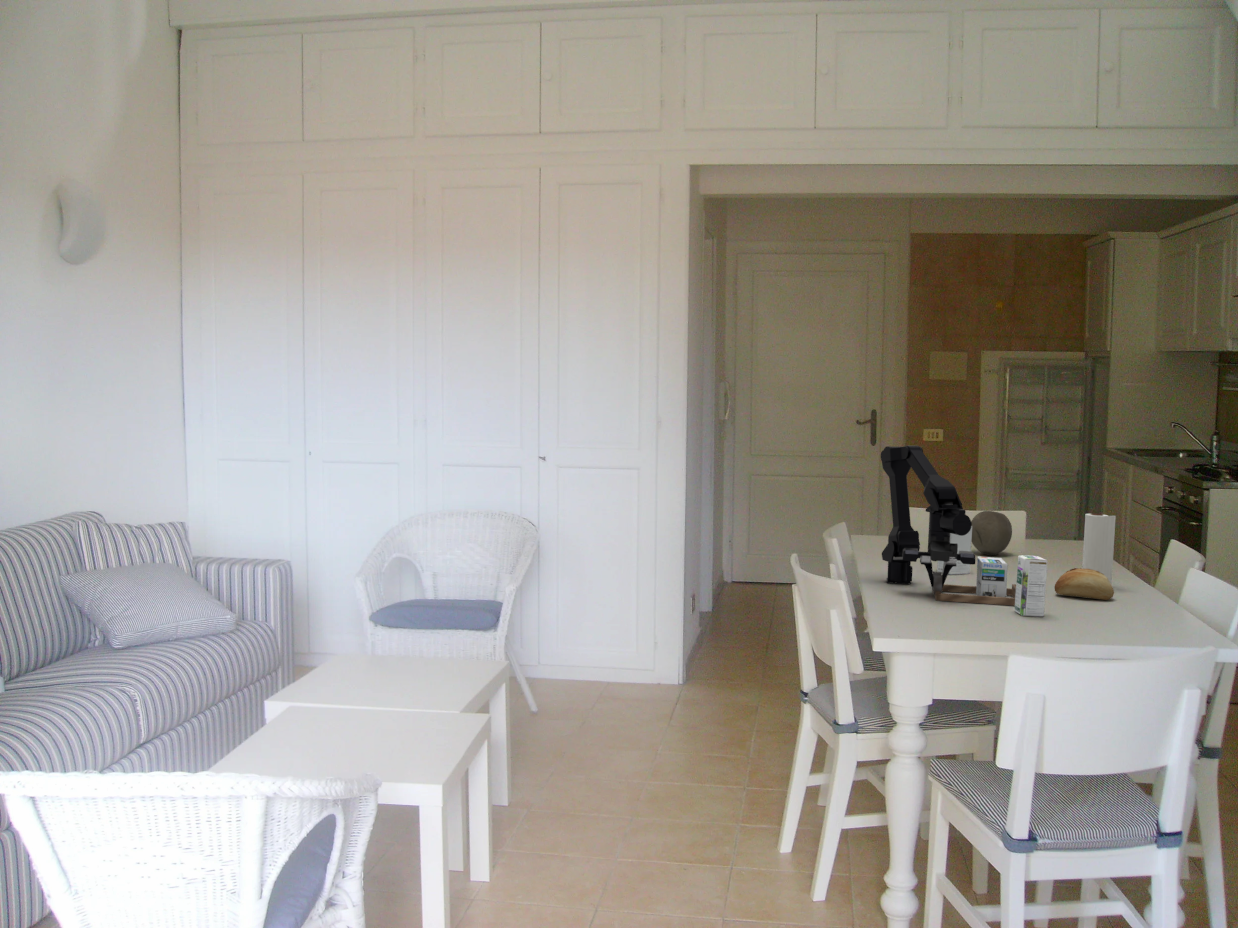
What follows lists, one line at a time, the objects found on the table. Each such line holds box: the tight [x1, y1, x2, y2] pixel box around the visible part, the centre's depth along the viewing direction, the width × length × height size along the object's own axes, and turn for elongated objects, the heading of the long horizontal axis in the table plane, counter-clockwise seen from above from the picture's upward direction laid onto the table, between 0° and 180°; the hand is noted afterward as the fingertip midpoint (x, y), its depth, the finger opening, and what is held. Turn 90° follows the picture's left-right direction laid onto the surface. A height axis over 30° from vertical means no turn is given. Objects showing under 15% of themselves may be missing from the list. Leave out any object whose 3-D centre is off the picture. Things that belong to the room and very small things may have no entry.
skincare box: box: [936, 526, 972, 576], centre depth 326 cm, size 8×6×15 cm
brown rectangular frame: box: [931, 570, 1016, 607], centre depth 287 cm, size 22×15×6 cm
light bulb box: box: [975, 555, 1009, 597], centre depth 286 cm, size 11×7×11 cm, turn 168°
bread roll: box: [1054, 567, 1115, 601], centre depth 292 cm, size 10×15×8 cm, turn 73°
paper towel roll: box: [1081, 513, 1117, 586], centre depth 306 cm, size 7×6×21 cm
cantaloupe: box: [971, 510, 1013, 556], centre depth 365 cm, size 14×14×15 cm
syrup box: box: [1014, 554, 1048, 617], centre depth 268 cm, size 6×6×14 cm
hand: (936, 587), depth 290 cm, fingers open, 2 cm apart
